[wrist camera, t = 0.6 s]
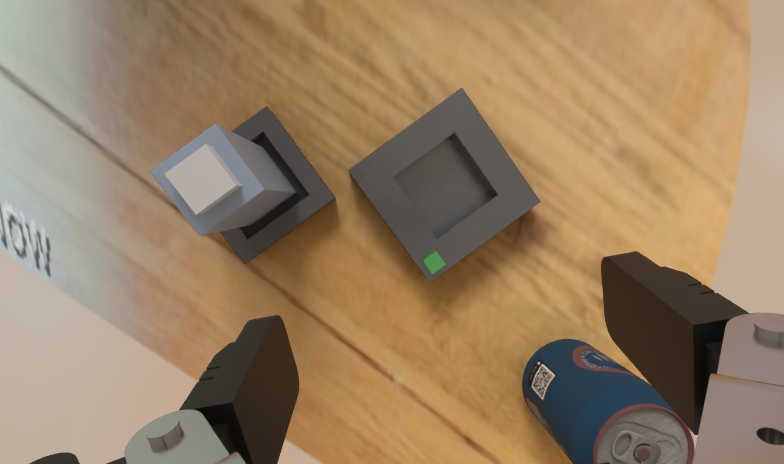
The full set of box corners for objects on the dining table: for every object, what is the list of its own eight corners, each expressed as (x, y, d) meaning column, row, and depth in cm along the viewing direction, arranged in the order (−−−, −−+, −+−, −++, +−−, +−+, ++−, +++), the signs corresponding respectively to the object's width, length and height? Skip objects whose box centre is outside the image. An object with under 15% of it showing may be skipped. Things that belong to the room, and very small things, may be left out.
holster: (185, 174, 36) (174, 173, 34) (271, 111, 36) (266, 106, 34) (250, 260, 37) (244, 263, 35) (335, 198, 37) (334, 198, 35)
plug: (221, 180, 36) (139, 170, 23) (265, 148, 36) (208, 120, 23) (254, 223, 36) (192, 238, 23) (297, 192, 36) (260, 189, 23)
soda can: (615, 355, 39) (726, 424, 27) (578, 431, 39) (671, 533, 27) (540, 320, 38) (618, 375, 26) (502, 398, 39) (563, 487, 27)
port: (349, 172, 37) (347, 169, 34) (455, 95, 37) (463, 85, 34) (425, 277, 38) (430, 284, 34) (529, 201, 38) (543, 201, 35)
